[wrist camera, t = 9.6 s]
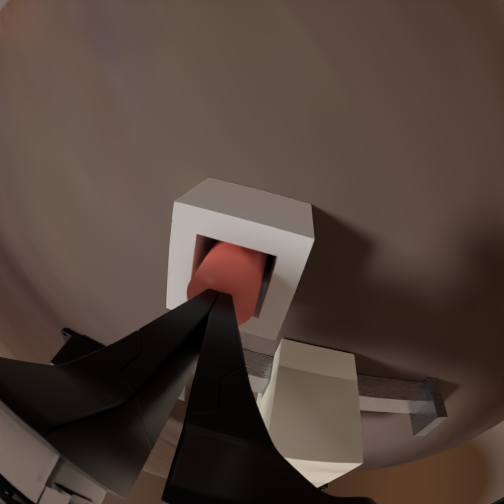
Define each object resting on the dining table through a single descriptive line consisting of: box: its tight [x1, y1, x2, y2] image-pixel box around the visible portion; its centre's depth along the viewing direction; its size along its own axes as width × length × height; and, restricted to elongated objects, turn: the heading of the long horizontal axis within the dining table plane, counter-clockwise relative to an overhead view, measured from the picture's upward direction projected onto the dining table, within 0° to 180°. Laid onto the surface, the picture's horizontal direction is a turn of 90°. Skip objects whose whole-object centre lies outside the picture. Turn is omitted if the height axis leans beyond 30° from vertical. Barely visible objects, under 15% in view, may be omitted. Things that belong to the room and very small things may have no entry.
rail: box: [178, 349, 448, 436], centre depth 16 cm, size 3×20×4 cm, turn 77°
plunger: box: [187, 240, 268, 326], centre depth 11 cm, size 2×2×5 cm
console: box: [166, 178, 315, 341], centre depth 12 cm, size 5×5×4 cm
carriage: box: [257, 338, 363, 488], centre depth 14 cm, size 6×5×8 cm
